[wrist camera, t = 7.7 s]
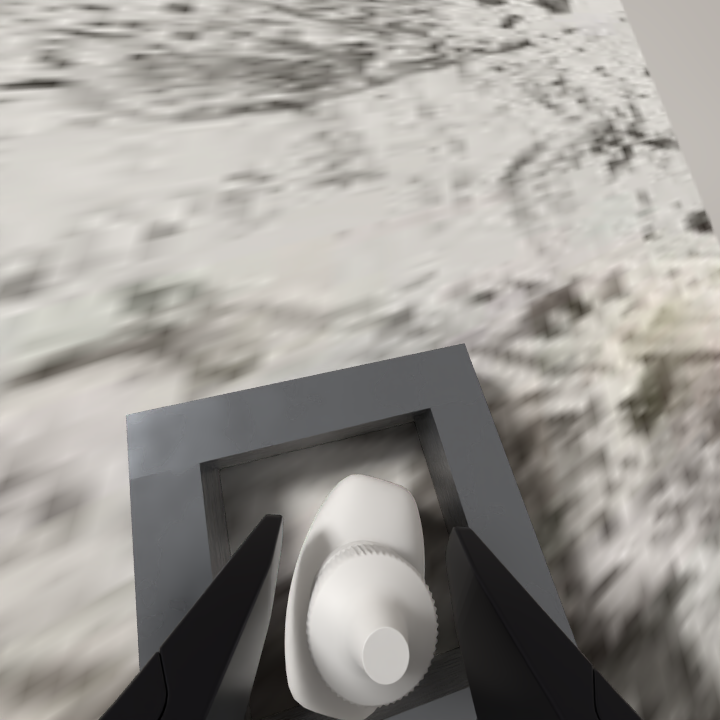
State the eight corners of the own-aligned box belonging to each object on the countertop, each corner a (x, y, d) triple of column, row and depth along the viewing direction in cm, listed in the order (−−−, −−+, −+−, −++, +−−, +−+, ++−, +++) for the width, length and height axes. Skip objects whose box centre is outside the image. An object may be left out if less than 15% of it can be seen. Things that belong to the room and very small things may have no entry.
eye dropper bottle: (421, 537, 17) (606, 610, 6) (332, 646, 15) (359, 1040, 4) (352, 467, 18) (402, 414, 7) (261, 564, 16) (123, 710, 5)
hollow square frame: (557, 689, 15) (609, 731, 13) (189, 837, 13) (153, 930, 10) (444, 365, 20) (464, 343, 17) (157, 428, 18) (126, 415, 15)
